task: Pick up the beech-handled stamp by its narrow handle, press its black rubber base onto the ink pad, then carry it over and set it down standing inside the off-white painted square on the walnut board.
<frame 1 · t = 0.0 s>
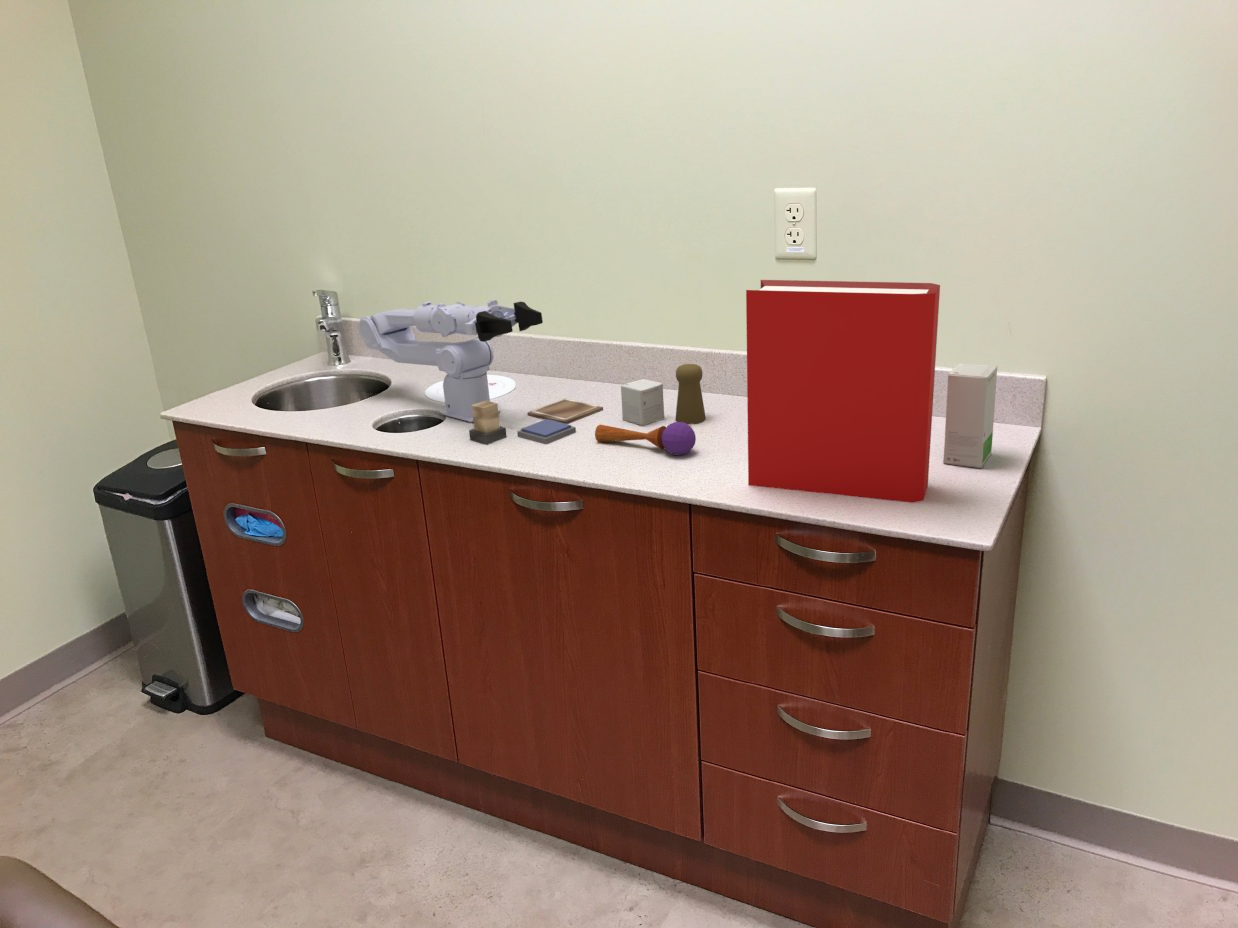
hand: (525, 322, 181), 22 cm above the worktop, tool horizontal, fingers open, 7 cm apart
stamp: (488, 438, 186), on the worktop
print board: (565, 412, 198), on the worktop
cork: (690, 420, 190), on the worktop
skincare box 2: (643, 420, 192), on the worktop
purple maraca: (645, 449, 177), on the worktop
ink pad: (546, 434, 186), on the worktop
skincare box: (966, 459, 162), on the worktop
book: (837, 485, 155), on the worktop
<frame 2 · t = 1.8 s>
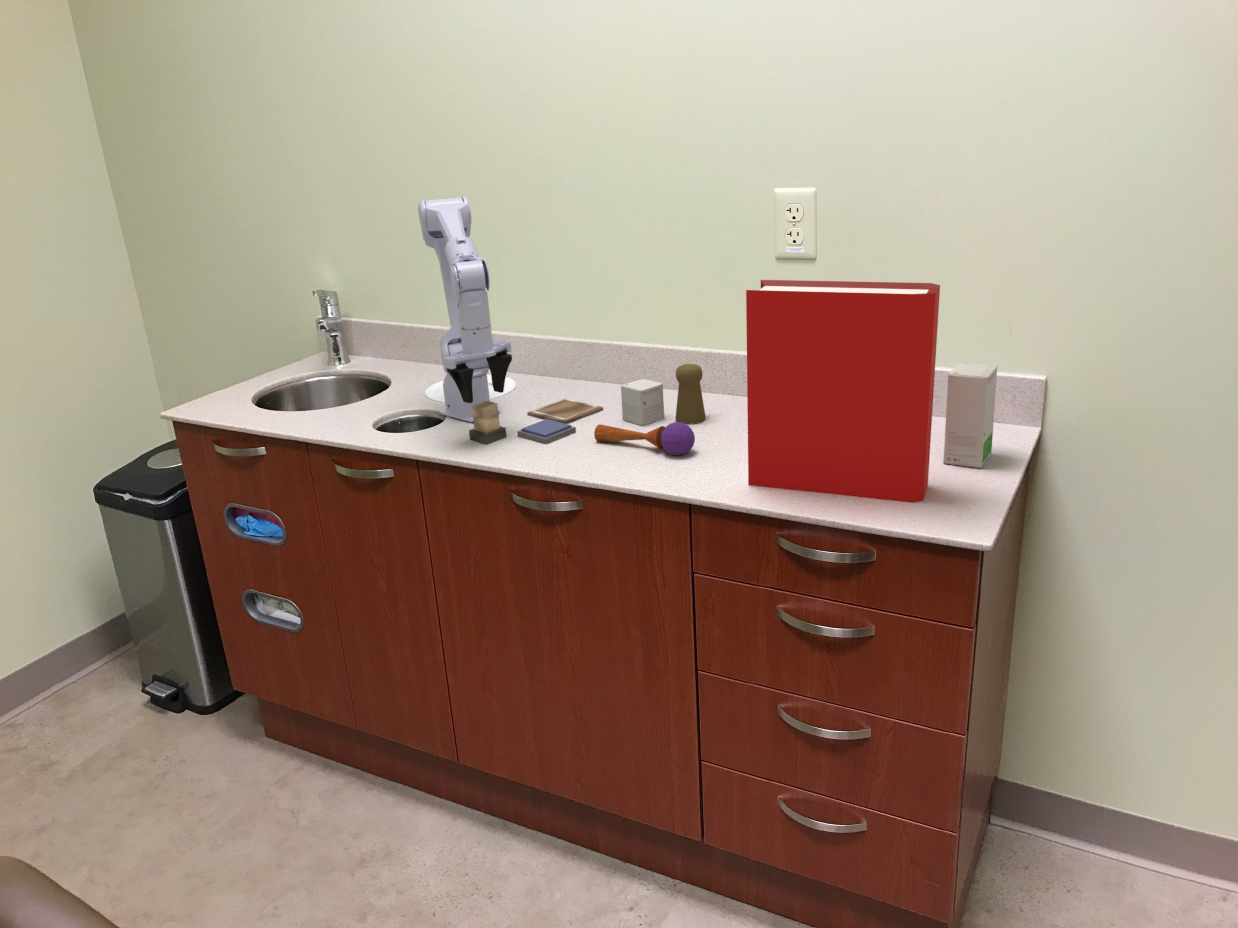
hand: (483, 396, 183), 8 cm above the worktop, tool pointing down, fingers open, 7 cm apart
nothing on the worktop moved.
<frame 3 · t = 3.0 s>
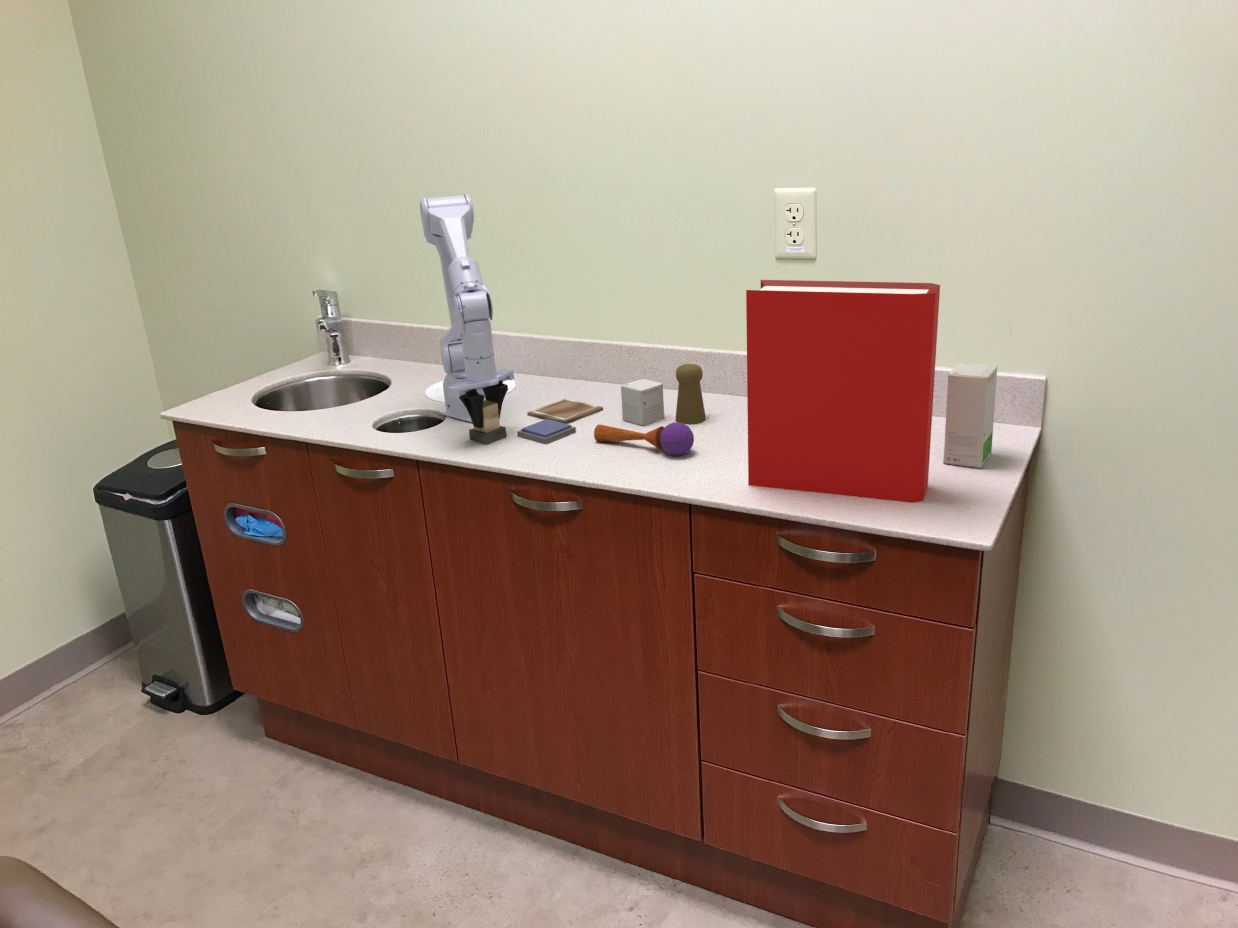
hand: (486, 424, 185), 3 cm above the worktop, tool pointing down, fingers closed on stamp, 3 cm apart
stamp: (488, 438, 186), on the worktop, touching gripper
everything else where it was.
when the fingers open (5 cm above the worktop, at t = 9.7 s): stamp stays where it is, resting on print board.
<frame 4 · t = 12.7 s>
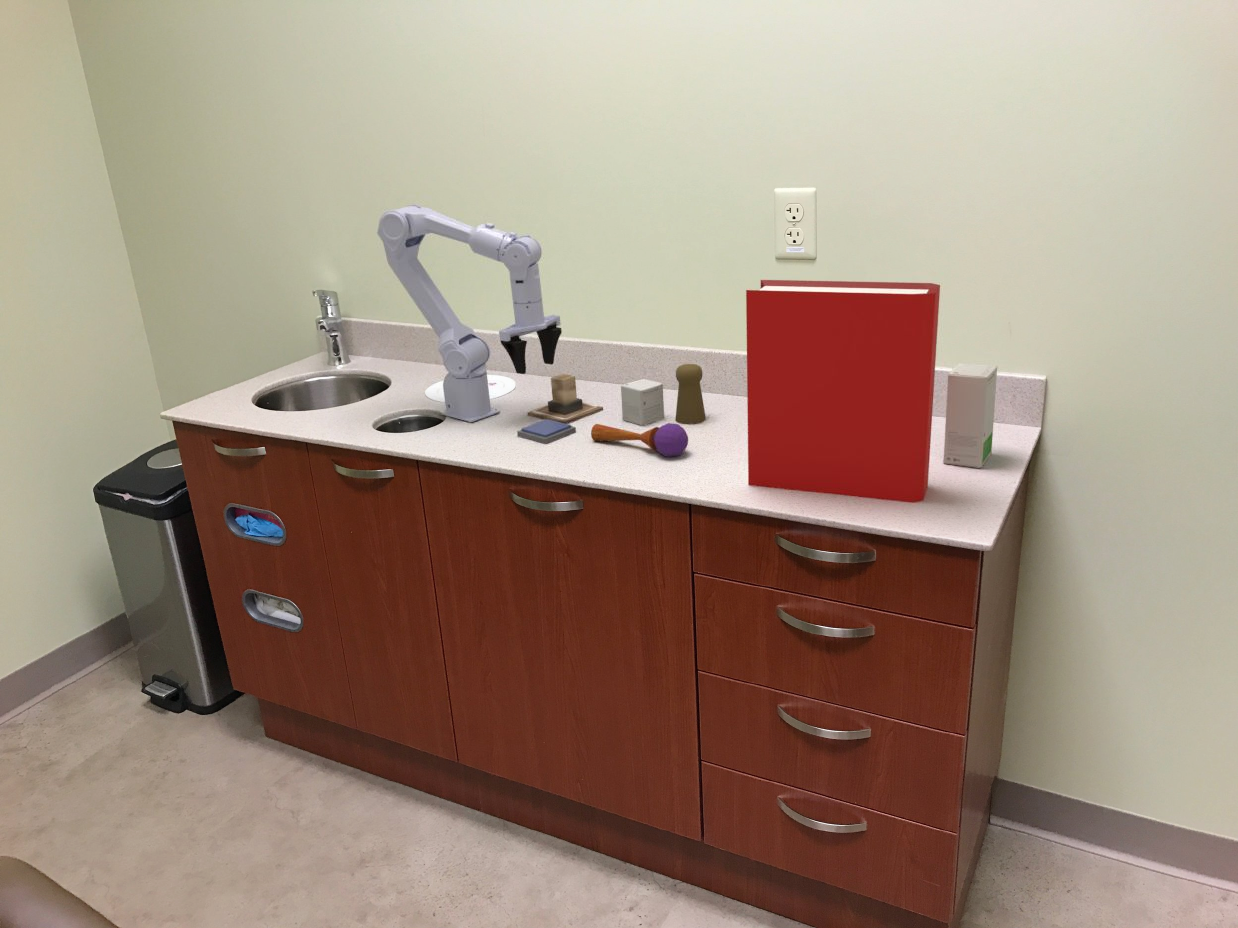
hand: (535, 368, 192), 10 cm above the worktop, tool pointing down, fingers open, 7 cm apart
stamp: (565, 409, 198), point 1 cm above the worktop, touching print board
at the end: stamp 0.1 cm off-centre on the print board, point 0.6 cm above the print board's base; stamp tilted 0°; the gripper is holding nothing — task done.
